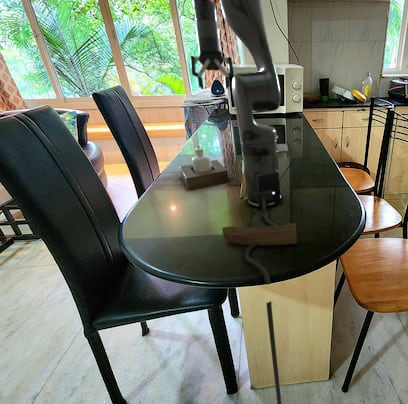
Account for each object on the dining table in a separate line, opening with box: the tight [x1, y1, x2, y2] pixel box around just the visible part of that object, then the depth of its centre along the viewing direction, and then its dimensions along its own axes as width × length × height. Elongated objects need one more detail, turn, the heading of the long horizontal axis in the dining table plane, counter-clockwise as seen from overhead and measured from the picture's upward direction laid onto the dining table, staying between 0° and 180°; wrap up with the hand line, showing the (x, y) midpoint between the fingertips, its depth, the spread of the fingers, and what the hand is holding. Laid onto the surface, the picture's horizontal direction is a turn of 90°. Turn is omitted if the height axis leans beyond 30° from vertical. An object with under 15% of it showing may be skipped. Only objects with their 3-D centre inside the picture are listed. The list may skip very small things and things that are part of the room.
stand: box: [179, 159, 230, 191], centre depth 96 cm, size 13×13×4 cm
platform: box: [276, 135, 290, 153], centre depth 126 cm, size 12×18×7 cm, turn 96°
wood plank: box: [221, 222, 298, 246], centre depth 60 cm, size 15×2×5 cm, turn 90°
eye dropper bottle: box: [191, 144, 212, 173], centre depth 94 cm, size 4×6×12 cm
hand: (214, 88), depth 102 cm, fingers open, 8 cm apart
